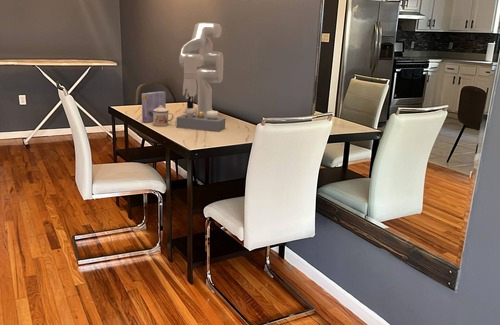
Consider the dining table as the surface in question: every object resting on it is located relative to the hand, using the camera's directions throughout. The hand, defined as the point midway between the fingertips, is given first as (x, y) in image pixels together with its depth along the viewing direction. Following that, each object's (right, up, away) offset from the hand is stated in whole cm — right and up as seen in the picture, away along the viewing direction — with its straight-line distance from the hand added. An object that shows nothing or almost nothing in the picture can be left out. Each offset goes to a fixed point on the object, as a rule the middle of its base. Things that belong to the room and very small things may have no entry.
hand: (190, 108), depth 270 cm
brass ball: (+7, -6, 0) cm, 9 cm away
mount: (+6, -12, +1) cm, 13 cm away
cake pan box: (-24, -6, +17) cm, 30 cm away
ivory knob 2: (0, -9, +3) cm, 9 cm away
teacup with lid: (-17, -10, +5) cm, 20 cm away
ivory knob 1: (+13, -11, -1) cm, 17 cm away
